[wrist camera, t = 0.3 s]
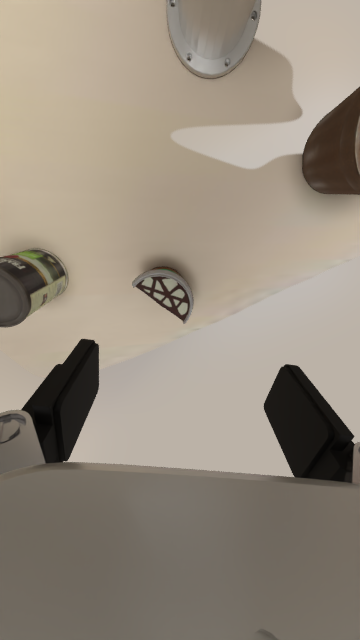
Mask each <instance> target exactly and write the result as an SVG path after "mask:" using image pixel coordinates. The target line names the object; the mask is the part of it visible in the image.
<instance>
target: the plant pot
mask: <svg viewBox="0 0 360 640" xmlns="http://www.w3.org/2000/svg"><path fill="white" fill-rule="evenodd" d="M303 158H304V160H303V173H304V177H305V179H306V181H307V182H308V184H309V185H310V186H311V187H312V188H313V189H314V190H316V191H318V192H320V193H324V194H358V195H360V87H359V88H358V89H356V91H354V92H353V93H352V94H351V95H350V96H348V97H347V98H346V99H345V100H344V101H343V102H342V103H340V104H339V105H338V106H337V107H336V108H334V109H333V110H332V111H331V112H329V113H328V114H327V115H326V116H325V117H324V118H323V119H322V120H321V121H320V122H319V123H318V124H317V125H316V127H315V128H314V129H313V131H312V133H311V135H310V136H309V138H308V140H307V142H306V145H305V148H304V152H303Z"/></svg>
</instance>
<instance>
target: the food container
mask: <svg viewBox="0 0 360 640" xmlns="http://www.w3.org/2000/svg"><path fill="white" fill-rule="evenodd" d="M132 286H133V288H134V287H135V286H136V287H137V288H138V289H140V290H141V291H143V292H144V293H146V294H147V295H148V296H150V297H151V298H152V299H153V300H155V301H156V302H157V303H158V304H160V305H161V306H162V307H164V308H166V309H167V310H169V311H170V312H171V313H173V314H174V315H176V316H177V317H178V318H180V319H181V320H183V323H184V324H185V323H186V322H187V320H188V319H189V317H190V315H191V312H192V309H193V294H192V291H191V289H190V287H189V285H188V284H187V282H186V281H185V280H184V279H183V278H182V277H181V275H180V274H179V273H178V272H177V271H176V270H174V269H172V268H169V267H157V268H154V269H152V270H150V271H148V272H145V273H143V274H141V275H139V276H138V277H137V278H136V279H135V280H134V281H133V282H132Z"/></svg>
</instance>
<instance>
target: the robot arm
mask: <svg viewBox="0 0 360 640" xmlns="http://www.w3.org/2000/svg"><path fill="white" fill-rule="evenodd" d="M172 5H174V7H172ZM260 10H261V0H167V23H168V29H169V35H170V38H171V41H172V45H173V47H174V50H175V52H176V54H177V56H178V57H179V59H180V60H181V62H182V63H183V64H184V66H186V67H187V68H188V69H189V70H190V71H191V72H193V73H194V74H196V75H198V76H201V77H204V78H216V77H220V76H223V75H225V74H227V73H229V72H230V71H231V70H233V69H234V68H235V67H236V66H237V65H238V64H239V63H240V62H241V60H242V59H243V58H244V56H245V55H246V53H247V51H248V50H249V48H250V45H251V43H252V41H253V39H254V36H255V33H256V30H257V27H258V23H259V17H260ZM252 19H253V20H254V21H253V20H252ZM187 59H190V60H191V61H188V60H187ZM225 64H227V66H228V67H226V66H225ZM98 387H99V345H98V344H96V343H95V341H94V340H88V339H81V340H80V342H79V343H78V344H77V346H76V347H75V348H74V350H73V351H72V352H71V354H70V355H69V356H68V358H67V359H66V360H65V362H64V363H63V364H58V365H56V366H55V367H54V368H53V370H52V371H51V372H50V373H49V375H48V376H47V377H46V379H45V380H44V381H43V382H42V384H41V385H40V386H39V388H38V389H37V390H36V391H35V393H34V394H33V395H32V397H31V398H30V399H29V400H28V402H27V403H26V404H25V406H24V407H23V408H22V410H11V411H6V412H3V413H0V640H360V442H358V443H356V444H354V443H353V442H352V441H351V440H352V439H353V438H354V435H353V434H352V433H351V431H350V430H349V429H348V428H347V426H346V425H345V424H344V423H343V421H342V420H341V419H340V418H339V417H338V415H337V414H336V413H335V411H334V410H333V409H332V408H331V406H330V405H329V404H328V403H327V401H326V400H325V399H324V398H323V396H322V395H321V394H320V393H319V391H318V390H317V389H316V388H315V386H314V385H313V384H312V383H311V381H310V380H309V379H308V378H307V376H306V375H305V374H304V372H303V371H302V370H301V369H300V367H298V366H295V365H288V364H286V365H284V367H281V368H280V370H279V373H278V375H277V377H276V379H275V381H274V383H273V385H272V388H271V390H270V392H269V394H268V396H267V398H266V401H265V403H264V410H265V413H266V415H267V417H268V419H269V422H270V424H271V426H272V428H273V430H274V433H275V435H276V437H277V439H278V442H279V444H280V446H281V449H282V451H283V453H284V455H285V457H286V460H287V462H288V464H289V466H290V468H291V471H292V473H293V475H294V477H283V476H271V475H259V474H245V473H233V472H220V471H207V470H193V469H180V468H166V467H151V466H136V465H123V464H102V463H83V462H82V463H81V462H80V463H79V462H63V461H67V460H68V459H69V457H70V455H71V453H72V450H73V448H74V446H75V443H76V441H77V439H78V436H79V434H80V432H81V429H82V427H83V425H84V422H85V420H86V418H87V416H88V413H89V411H90V409H91V406H92V404H93V401H94V399H95V397H96V394H97V392H98Z"/></svg>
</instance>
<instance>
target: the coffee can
mask: <svg viewBox="0 0 360 640" xmlns="http://www.w3.org/2000/svg"><path fill="white" fill-rule="evenodd" d="M67 283H68V274H67V271H66V269H65V267H64V265H63V263H62V262H61V261H60V260H59V259H58V258H57V257H56V256H55V255H53V254H52V253H50V252H48V251H46V250H42V249H29V250H27V251H23V252H19V253H16V254H12V255H8V256H4V257H0V327H12V326H15V325H18V324H19V323H21V322H22V321H24V320H25V319H26V317H28V316H29V315H31V314H32V313H33V312H35V311H36V310H38V309H39V308H41V307H42V306H43V305H45V304H46V303H48V302H49V301H51V300H52V299H53V298H55V297H56V296H58V295H60V294H61V293H62V292H63V291H64V290H65V289H66V286H67Z"/></svg>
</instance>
